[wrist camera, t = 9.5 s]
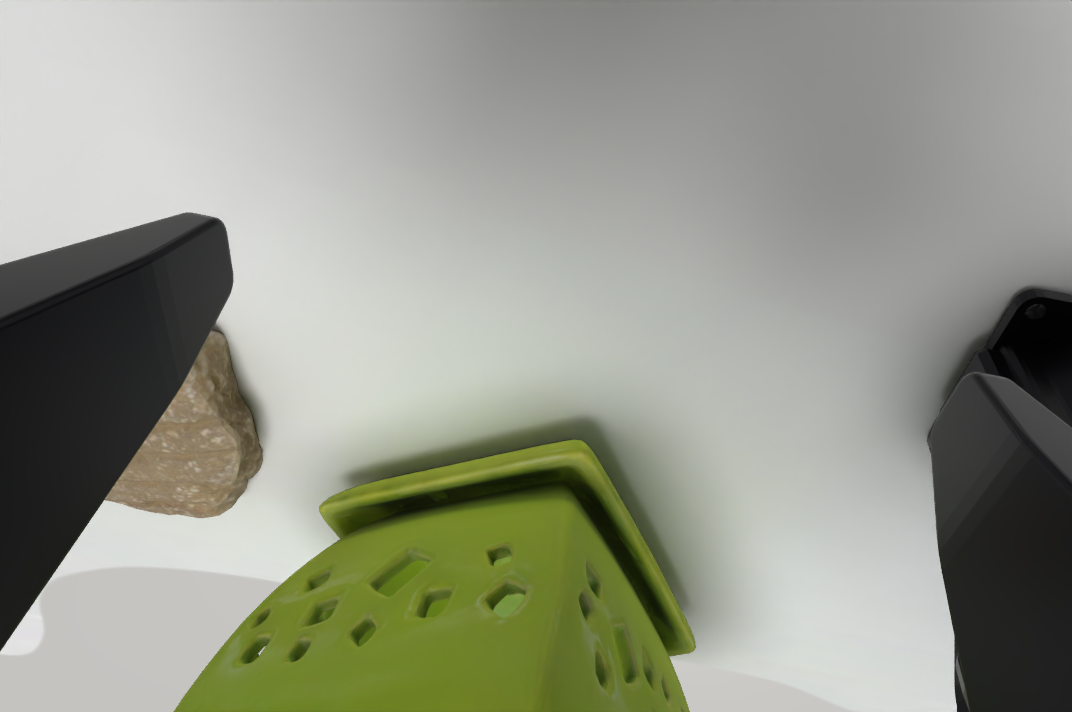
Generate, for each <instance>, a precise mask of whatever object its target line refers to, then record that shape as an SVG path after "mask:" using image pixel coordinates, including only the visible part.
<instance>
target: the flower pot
mask: <svg viewBox="0 0 1072 712" xmlns="http://www.w3.org/2000/svg"><path fill="white" fill-rule="evenodd" d="M319 510H320V513H321V515H322V517H323V518H324V520H325V521H326V522H327V524H328V525H329V526H330V527H331V529H332V530H333V531H334V532H335V533H336V534H337V536H338V537H339V538H340V540H339V541H337V542H336V543H334V544H333V545H331V546H330V547H328V548H327V549H325V550H324V551H322V552H321V553H320V554H318V555H317V556H316V557H314V558H313V559H312V560H310V561H309V562H308V563H306V564H305V565H304V566H303V567H301V568H300V569H299V570H298V571H296V572H295V573H294V574H293V575H291V576H290V577H289V578H288V579H287V580H286V581H285V582H283V583H282V584H281V585H280V586H279V587H278V588H277V589H276V590H274V591H273V593H271V594H270V595H269V596H268V597H267V598H266V599H265V600H264V601H263V602H262V603H261V604H260V605H259V606H258V607H257V608H256V609H255V610H254V611H253V612H252V613H251V614H250V615H249V617H247V618H246V620H245V621H243V623H242V624H241V625H240V626H239V627H238V629H237V630H236V631H235V632H234V633H233V634H232V635H231V637H230V638H229V639H228V640H227V641H226V643H225V644H224V645H223V646H222V647H221V649H220V650H219V651H218V653H217V654H216V655H215V656H214V658H213V659H212V660H211V661H210V662H209V664H208V665H207V666H206V668H205V669H204V670H203V671H202V673H201V674H200V676H199V677H198V678H197V680H196V681H195V682H194V684H193V685H192V686H191V688H190V689H189V691H188V692H187V693H186V694H185V696H184V697H183V699H182V700H181V702H180V703H179V705H178V706H177V708H176V709H175V711H174V712H690V711H689V708H688V705H687V702H686V699H685V696H684V693H683V691H682V688H681V685H680V682H679V680H678V677H677V675H676V672H675V670H674V667H673V665H672V663H671V660H670V658H669V656H675V655H681V654H687V653H690V652H693V651H694V650H695V648H696V645H695V640H694V636H693V634H692V631H691V629H690V627H689V625H688V623H687V621H686V618H685V617H684V615H683V613H682V611H681V609H680V607H679V605H678V603H677V601H676V599H675V597H674V595H673V594H672V592H671V590H670V588H669V586H668V584H667V582H666V580H665V578H664V576H663V574H662V572H661V570H660V568H659V566H658V564H657V562H656V561H655V559H654V557H653V555H652V553H651V551H650V550H649V548H648V546H647V544H646V542H645V541H644V539H643V537H642V535H641V533H640V532H639V530H638V528H637V526H636V524H635V523H634V521H633V519H632V517H631V515H630V514H629V512H628V510H627V508H626V507H625V505H624V503H623V501H622V500H621V498H620V496H619V494H618V493H617V491H616V489H615V487H614V486H613V484H612V482H611V480H610V479H609V477H608V475H607V474H606V472H605V470H604V468H603V467H602V465H601V463H600V462H599V460H598V459H597V457H596V456H595V454H594V452H593V451H592V449H591V448H590V447H589V446H588V445H587V444H586V443H585V442H583V441H581V440H568V441H562V442H556V443H551V444H546V445H541V446H536V447H531V448H527V449H522V450H517V451H513V452H508V453H503V454H499V455H494V456H489V457H485V458H480V459H476V460H471V461H467V462H462V463H458V464H453V465H449V466H444V467H439V468H434V469H430V470H425V471H420V472H415V473H411V474H406V475H402V476H397V477H392V478H388V479H383V480H379V481H375V482H371V483H367V484H363V485H360V486H357V487H354V488H351V489H348V490H345V491H343V492H340V493H338V494H336V495H334V496H332V497H330V498H329V499H327V500H326V501H325V502H323V503H322V504H321V505H320V507H319ZM265 646H266V647H265ZM263 647H265V649H264V650H263V652H262V653H261V654H260V655H259V654H258V653H259V652H260V651H261V650H262V648H263Z"/></svg>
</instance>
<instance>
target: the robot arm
mask: <svg viewBox="0 0 1072 712" xmlns="http://www.w3.org/2000/svg"><path fill="white" fill-rule="evenodd" d="M232 286H233V269H232V263H231V256H230V250H229V243H228V236H227V231H226V227H225V225H224V223H223V222H222V221H221V220H220V219H218V218H215V217H211V216H206V215H201V214H196V213H182V214H179V215H175V216H172V217H168V218H165V219H161V220H158V221H154V222H151V223H147V224H143V225H140V226H136V227H133V228H129V229H126V230H122V231H119V232H115V233H112V234H108V235H104V236H101V237H97V238H94V239H90V240H87V241H83V242H80V243H76V244H73V245H69V246H65V247H62V248H58V249H55V250H51V251H48V252H44V253H41V254H37V255H34V256H30V257H26V258H23V259H19V260H16V261H12V262H9V263H5V264H2V265H0V651H1V650H2V648H3V647H4V645H5V644H6V642H7V641H8V639H9V638H10V636H11V635H12V634H13V632H14V631H15V629H16V628H17V626H18V625H19V623H20V622H21V620H22V619H23V618H24V616H25V615H26V613H27V612H28V610H29V609H30V607H31V606H32V604H33V603H34V602H35V600H36V599H37V597H38V596H39V594H40V593H41V591H42V590H43V588H44V587H45V585H46V584H47V583H48V581H49V580H50V578H51V577H52V575H53V574H54V572H55V571H56V569H57V568H58V567H59V565H60V564H61V562H62V561H63V559H64V558H65V556H66V555H67V553H68V552H69V551H70V549H71V548H72V546H73V545H74V543H75V542H76V540H77V539H78V537H79V536H80V535H81V533H82V532H83V530H84V529H85V527H86V526H87V524H88V523H89V521H90V520H91V518H92V517H93V516H94V514H95V513H96V511H97V510H98V508H99V507H100V505H101V504H102V502H103V501H104V500H105V498H106V497H107V495H108V494H109V492H110V491H111V489H112V488H113V486H114V485H115V484H116V482H117V481H118V479H119V478H120V476H121V475H122V473H123V472H124V470H125V469H126V468H127V466H128V465H129V463H130V462H131V460H132V459H133V457H134V456H135V454H136V453H137V451H138V450H139V449H140V447H141V446H142V444H143V443H144V441H145V440H146V438H147V437H148V435H149V434H150V433H151V431H152V430H153V428H154V427H155V425H156V424H157V422H158V421H159V419H160V418H161V417H162V415H163V414H164V412H165V411H166V409H167V408H168V406H169V405H170V403H171V402H172V400H173V399H174V397H175V396H176V394H177V393H178V391H179V390H180V388H181V386H182V385H183V383H184V381H185V379H186V378H187V376H188V374H189V372H190V370H191V368H192V367H193V365H194V363H195V361H196V359H197V357H198V355H199V353H200V351H201V349H202V347H203V346H204V344H205V342H206V340H207V338H208V336H209V334H210V332H211V330H212V328H213V326H214V324H215V323H216V321H217V319H218V317H219V315H220V313H221V311H222V309H223V307H224V305H225V303H226V301H227V300H228V298H229V296H230V293H231V290H232ZM1035 304H1041V306H1040V307H1039V308H1038V309H1037V310H1034V311H1026V310H1027V309H1028V308H1029V307H1030V306H1033V305H1035ZM927 443H928V446H929V449H930V452H931V458H932V472H933V487H934V501H935V516H936V530H937V541H938V550H939V557H940V563H941V569H942V574H943V579H944V584H945V589H946V594H947V600H948V605H949V610H950V615H951V620H952V625H953V630H954V635H955V696H956V703H957V712H1072V296H1071V295H1066V294H1060V293H1055V292H1050V291H1045V290H1037V289H1032V290H1029V291H1025V292H1023V293H1021V294H1020V295H1018V296H1017V297H1016V298H1015V299H1014V300H1013V302H1012V304H1011V305H1010V307H1009V308H1008V310H1007V312H1006V313H1005V315H1004V316H1003V318H1002V320H1001V321H1000V323H999V324H998V326H997V328H996V329H995V331H994V332H993V334H992V336H991V337H990V339H989V340H988V342H987V344H986V345H985V347H984V348H983V349H981V350H980V351H978V352H977V353H975V355H974V356H973V358H972V359H971V361H970V363H969V364H968V366H967V368H966V369H965V371H964V372H963V374H962V376H961V377H960V379H959V380H958V382H957V384H956V385H955V387H954V388H953V390H952V392H951V393H950V395H949V397H948V398H947V400H946V401H945V403H944V405H943V406H942V408H941V410H940V414H939V416H938V417H937V419H936V421H935V423H934V425H933V428H932V432H931V433H930V435H929V436H928V439H927Z"/></svg>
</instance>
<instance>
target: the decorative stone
mask: <svg viewBox="0 0 1072 712" xmlns="http://www.w3.org/2000/svg"><path fill="white" fill-rule="evenodd" d="M261 452H262V450H261V448H260V446H259V440H258V437H257V435H256V433H255V426H254V423H253V417H252V415H251V412H250V410H249V409H248V407H247V406H246V405H245V402H244V400H243V399H242V397H241V396H240V395H239V392H238V387H237V383H236V380H235V375H234V372H233V370H232V366H231V357H230V352H229V347H228V342H227V340H226V338H225V336H224V335H222V334H221V333H219V332H215V331H212V330H211V332H210V334H209V336H208V338H207V340H206V342H205V344H204V346H203V347H202V349H201V351H200V353H199V355H198V357H197V359H196V361H195V363H194V365H193V367H192V368H191V370H190V372H189V374H188V376H187V378H186V379H185V381H184V383H183V385H182V386H181V388H180V390H179V391H178V393H177V394H176V396H175V397H174V399H173V400H172V402H171V403H170V405H169V406H168V408H167V409H166V411H165V412H164V414H163V415H162V417H161V418H160V419H159V421H158V422H157V424H156V425H155V427H154V428H153V430H152V431H151V433H150V434H149V435H148V437H147V438H146V440H145V441H144V443H143V444H142V446H141V447H140V449H139V450H138V451H137V453H136V454H135V456H134V457H133V459H132V460H131V462H130V463H129V465H128V466H127V468H126V469H125V470H124V472H123V473H122V475H121V476H120V478H119V479H118V481H117V482H116V484H115V485H114V486H113V488H112V489H111V491H110V492H109V494H108V495H107V497H106V498H105V500H107V501H112V502H116V503H120V504H124V505H127V506H130V507H133V508H136V509H140V510H144V511H149V512H154V513H161V514H167V515H175V514H179V515H184V516H190V517H196V518H206V517H213V516H219V515H221V514H222V513H224V512H225V511H227V510H228V509H230V508H231V507H232V506H233V505H234V504H235V503H236V501H237V499H238V498H239V497H240V496H241V495H242V494H243V493H244V492H245V489H246V487H247V482H248V479H249V478H251V477H253V476H254V475H255V474H256V473H257V472H258V471H259V469H260V467H261V464H262V455H261Z"/></svg>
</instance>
